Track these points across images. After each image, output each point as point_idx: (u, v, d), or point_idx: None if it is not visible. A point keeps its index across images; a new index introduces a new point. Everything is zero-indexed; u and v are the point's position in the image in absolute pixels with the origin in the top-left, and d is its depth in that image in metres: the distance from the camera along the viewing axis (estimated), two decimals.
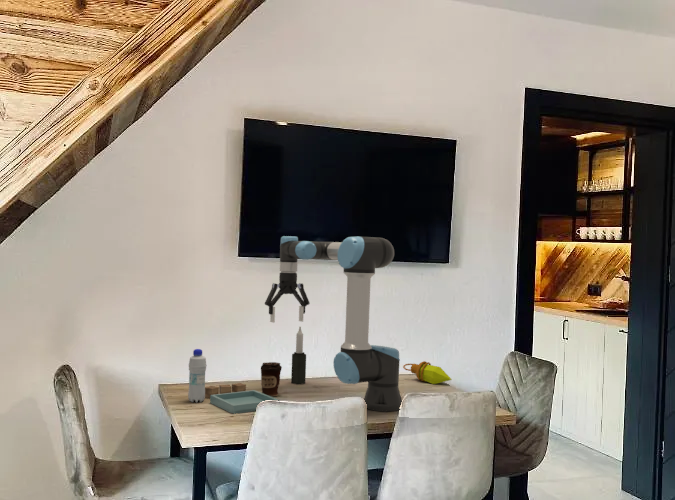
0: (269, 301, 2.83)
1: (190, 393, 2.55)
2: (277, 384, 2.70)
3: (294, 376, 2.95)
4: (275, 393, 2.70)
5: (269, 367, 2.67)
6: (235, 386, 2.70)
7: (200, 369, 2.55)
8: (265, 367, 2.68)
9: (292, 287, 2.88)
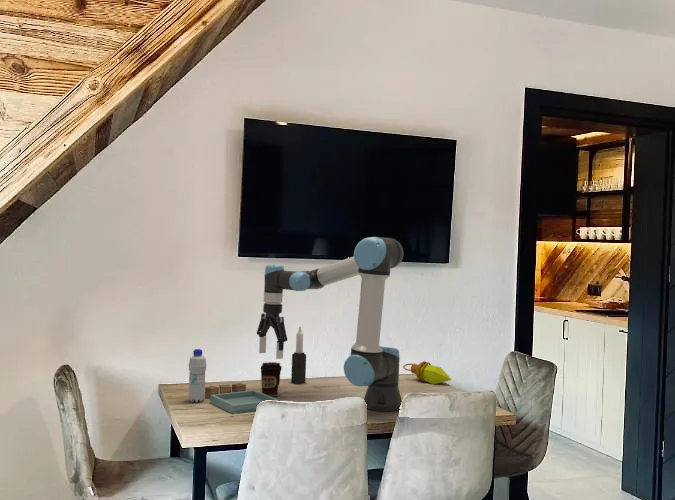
0: (258, 330, 2.78)
1: (190, 393, 2.55)
2: (277, 384, 2.70)
3: (294, 376, 2.95)
4: (275, 393, 2.70)
5: (269, 367, 2.67)
6: (235, 386, 2.70)
7: (200, 369, 2.55)
8: (265, 367, 2.68)
9: (269, 319, 2.69)
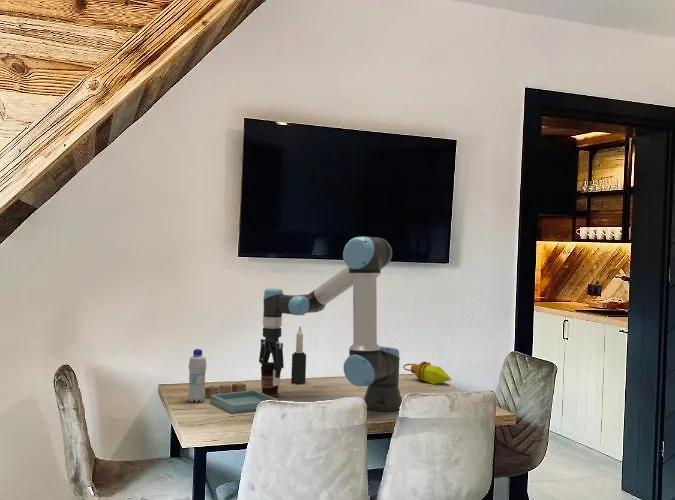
0: (259, 358, 2.76)
1: (190, 393, 2.55)
2: None
3: (294, 376, 2.95)
4: (275, 393, 2.70)
5: (269, 367, 2.67)
6: (235, 386, 2.70)
7: (200, 369, 2.55)
8: (265, 367, 2.68)
9: (269, 343, 2.69)
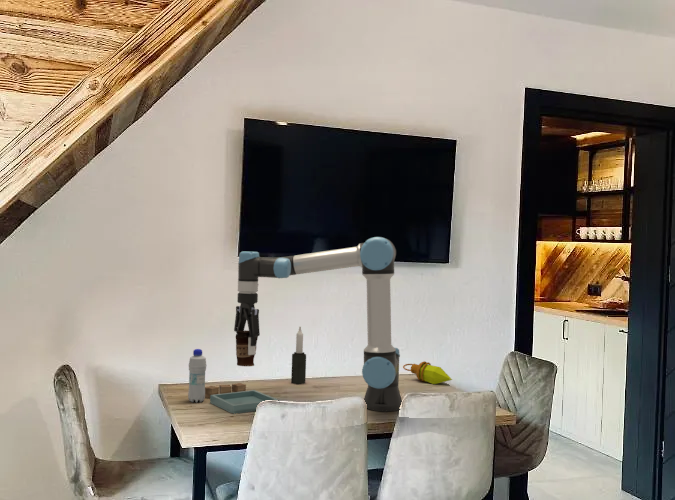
0: (235, 326, 2.58)
1: (190, 393, 2.55)
2: None
3: (294, 376, 2.95)
4: (251, 363, 2.51)
5: (244, 335, 2.49)
6: (235, 386, 2.70)
7: (200, 369, 2.55)
8: (240, 335, 2.50)
9: (244, 310, 2.51)
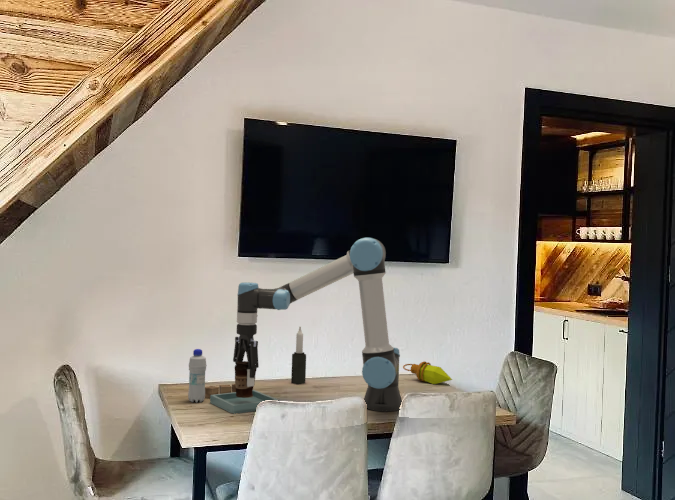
0: (234, 357, 2.58)
1: (190, 393, 2.55)
2: None
3: (294, 376, 2.95)
4: (250, 394, 2.52)
5: (243, 367, 2.49)
6: None
7: (200, 369, 2.55)
8: (239, 366, 2.50)
9: (243, 341, 2.51)
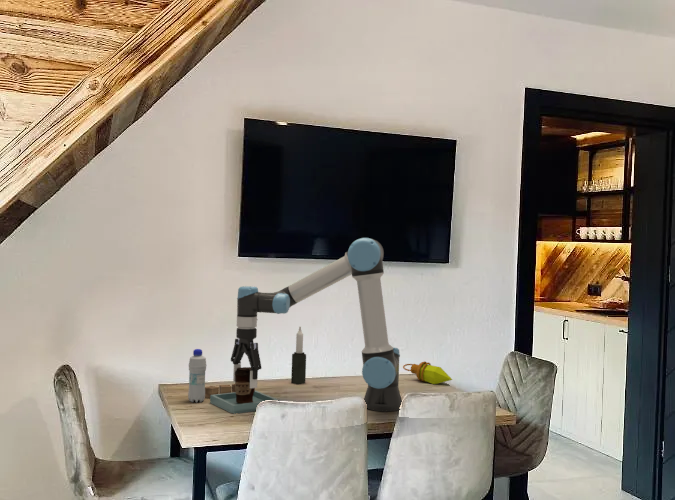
0: (232, 357, 2.60)
1: (190, 393, 2.55)
2: (252, 391, 2.52)
3: (294, 376, 2.95)
4: (250, 400, 2.51)
5: (243, 372, 2.49)
6: None
7: (200, 369, 2.55)
8: (239, 372, 2.50)
9: (243, 345, 2.51)
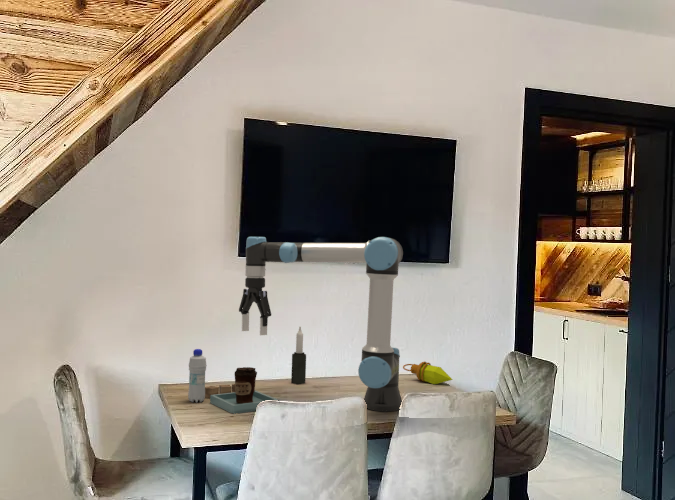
0: (240, 307, 2.63)
1: (190, 393, 2.55)
2: (252, 391, 2.52)
3: (294, 376, 2.95)
4: (250, 400, 2.51)
5: (243, 373, 2.49)
6: None
7: (200, 369, 2.55)
8: (239, 373, 2.50)
9: (252, 294, 2.54)
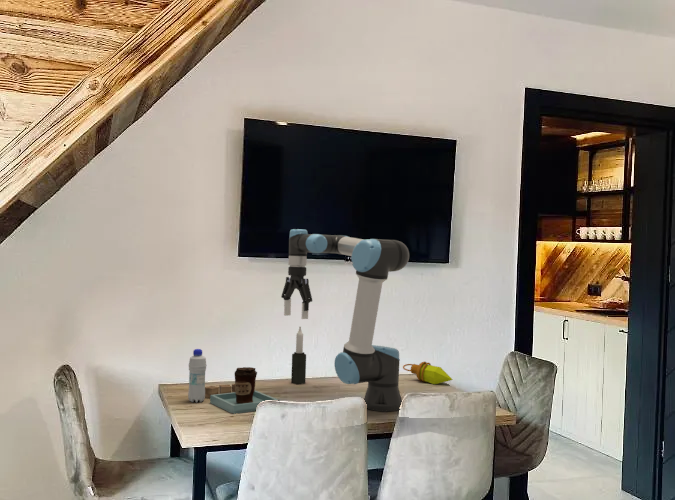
0: (282, 294, 2.88)
1: (190, 393, 2.55)
2: (252, 391, 2.52)
3: (294, 376, 2.95)
4: (250, 400, 2.51)
5: (243, 373, 2.49)
6: None
7: (200, 369, 2.55)
8: (239, 373, 2.50)
9: (294, 281, 2.79)
